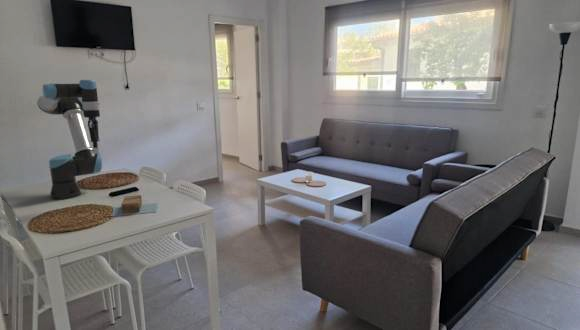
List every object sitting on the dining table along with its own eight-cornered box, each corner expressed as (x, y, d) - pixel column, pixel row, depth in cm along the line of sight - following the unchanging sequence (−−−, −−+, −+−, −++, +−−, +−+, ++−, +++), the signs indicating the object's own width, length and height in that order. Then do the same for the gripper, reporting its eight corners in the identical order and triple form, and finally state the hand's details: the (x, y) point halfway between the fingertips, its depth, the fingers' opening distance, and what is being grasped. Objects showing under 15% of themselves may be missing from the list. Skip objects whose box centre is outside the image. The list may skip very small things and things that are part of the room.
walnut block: (124, 196, 192) (121, 204, 179) (141, 195, 194) (138, 202, 182) (125, 205, 193) (122, 213, 181) (142, 203, 195) (139, 212, 183)
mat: (109, 207, 190) (109, 207, 190) (157, 203, 196) (157, 203, 196) (103, 217, 176) (103, 216, 176) (156, 212, 183) (156, 211, 183)
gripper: (96, 110, 187) (102, 155, 192) (101, 108, 199) (106, 150, 204) (80, 110, 185) (86, 156, 190) (86, 108, 197) (91, 151, 202)
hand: (96, 153), depth 197 cm, fingers closed
